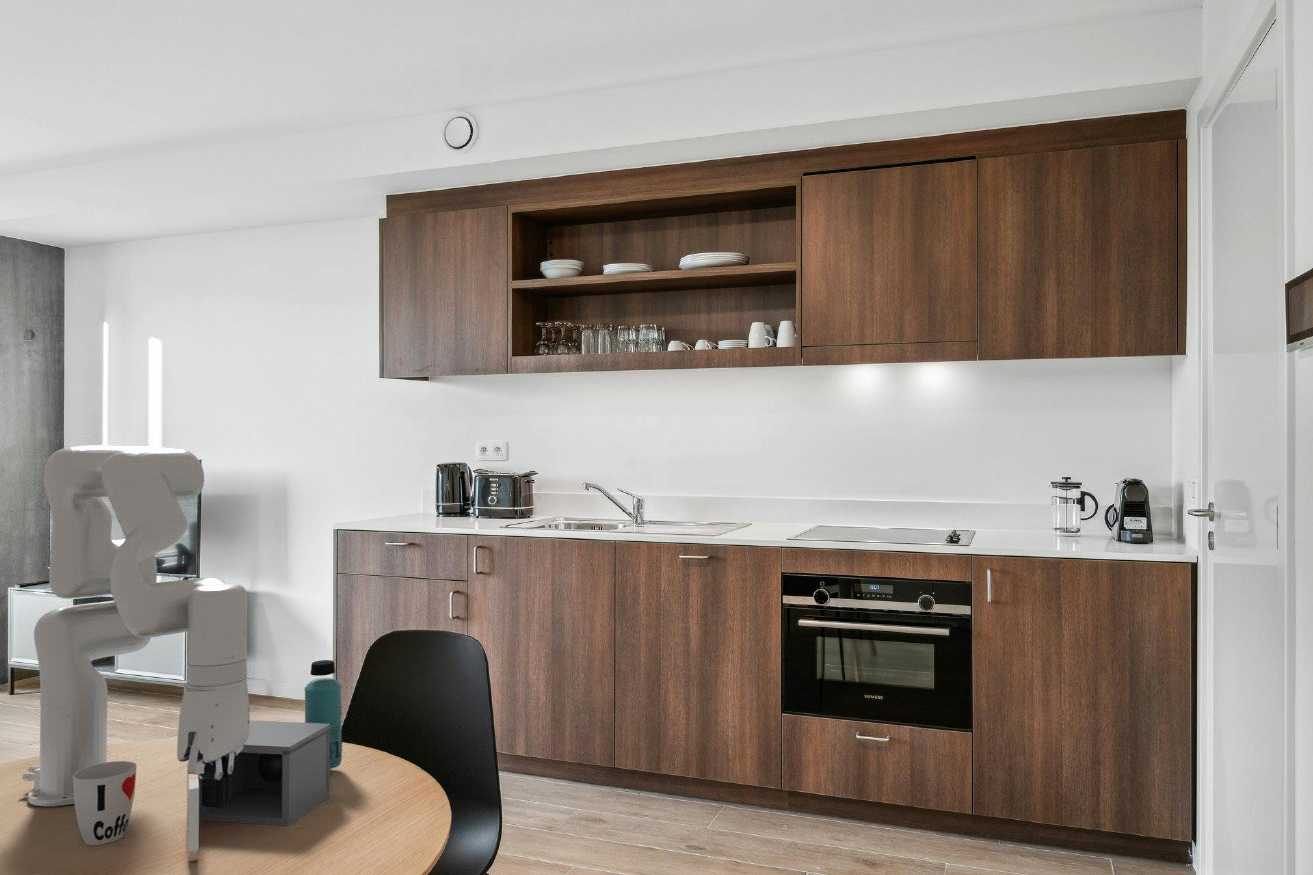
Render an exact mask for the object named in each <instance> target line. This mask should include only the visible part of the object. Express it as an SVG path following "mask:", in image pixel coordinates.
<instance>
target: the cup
mask: <svg viewBox="0 0 1313 875" xmlns="http://www.w3.org/2000/svg"><path fill="white" fill-rule="evenodd" d="M136 776H137V763H136V762H133V761H126V760H124V761H123V760H122V761H121V760H120V761H116V760H115V761H108V762H107V763H101V764H96V765H92V766H89V767H86V768H83V769H80V770H78V771H77V772H75V773H74V774H73V790H74V804H73V805H74V809H75V814H76V819H77V826H78V828H79V831H80V835H81V836H82V838H83V842H84V844H85V845H88V846H98V845H106V844H109V843H113V842H116V841H118V840H120V839H121V838H123V837H124V835H125V834H126V831H127V827H128V825H129V821H130V819H131V814H132V808H133V803H134V799H135V798H134V797H135V794H136V793H135V792H136V791H135V790H136Z"/></svg>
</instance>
